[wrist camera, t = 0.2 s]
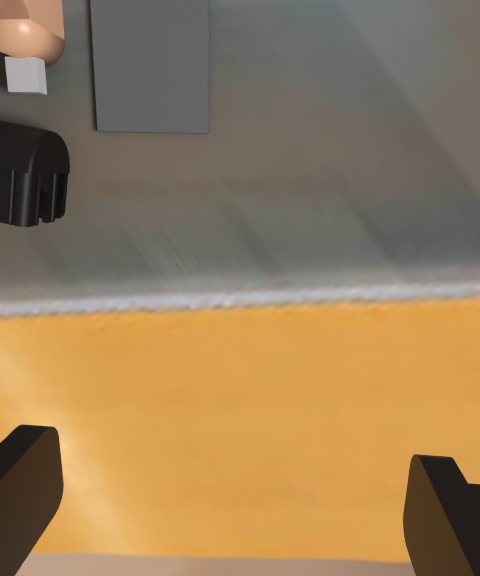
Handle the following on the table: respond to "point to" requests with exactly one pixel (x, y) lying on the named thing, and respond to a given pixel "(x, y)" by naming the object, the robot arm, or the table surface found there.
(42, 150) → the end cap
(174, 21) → the mat
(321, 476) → the table surface
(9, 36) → the plug
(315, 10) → the table surface
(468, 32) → the table surface
